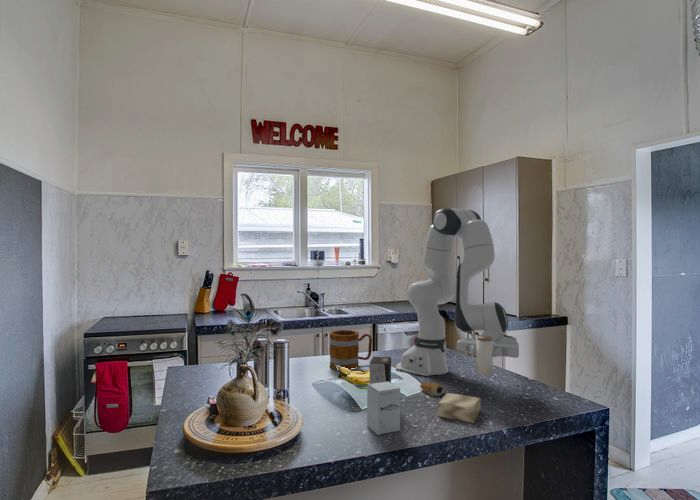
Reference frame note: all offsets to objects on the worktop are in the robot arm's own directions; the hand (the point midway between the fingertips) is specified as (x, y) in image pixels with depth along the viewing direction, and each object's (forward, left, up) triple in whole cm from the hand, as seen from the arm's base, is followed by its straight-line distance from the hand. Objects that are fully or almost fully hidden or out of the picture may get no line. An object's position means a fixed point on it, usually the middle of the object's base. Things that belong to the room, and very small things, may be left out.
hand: (484, 352), depth 139 cm
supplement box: (-23, -29, -19) cm, 42 cm away
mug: (-62, +25, -19) cm, 70 cm away
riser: (-6, -7, -19) cm, 21 cm away
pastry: (-20, +8, -19) cm, 29 cm away
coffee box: (-30, -15, -19) cm, 39 cm away
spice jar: (0, +1, -7) cm, 7 cm away
